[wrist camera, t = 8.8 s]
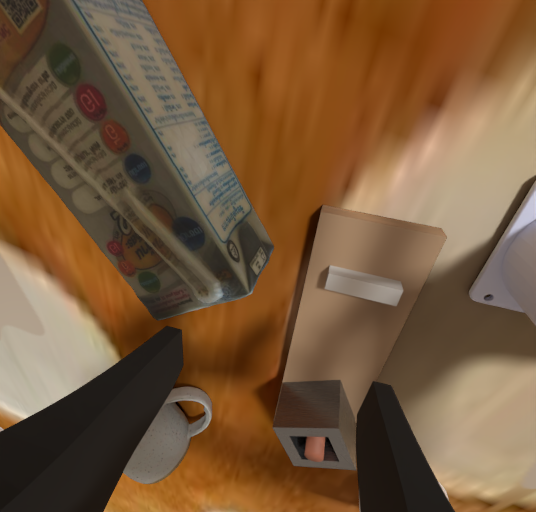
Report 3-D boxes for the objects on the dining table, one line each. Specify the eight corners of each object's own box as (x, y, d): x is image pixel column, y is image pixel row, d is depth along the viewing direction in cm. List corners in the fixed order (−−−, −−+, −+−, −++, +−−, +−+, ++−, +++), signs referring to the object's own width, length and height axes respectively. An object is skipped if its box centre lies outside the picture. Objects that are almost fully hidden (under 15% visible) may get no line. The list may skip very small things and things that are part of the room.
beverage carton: (194, 278, 24) (146, 334, 18) (22, 21, 17) (-133, -12, 12) (279, 247, 20) (252, 305, 15) (105, -83, 14) (-56, -199, 8)
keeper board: (441, 228, 17) (477, 282, 12) (345, 431, 28) (344, 501, 23) (322, 204, 18) (312, 246, 13) (276, 409, 29) (261, 472, 24)
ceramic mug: (160, 422, 37) (120, 494, 30) (121, 378, 34) (68, 446, 27) (230, 418, 33) (201, 499, 26) (193, 367, 30) (150, 444, 23)
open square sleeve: (340, 379, 23) (338, 428, 20) (355, 419, 25) (356, 470, 22) (282, 382, 25) (272, 427, 22) (301, 419, 27) (293, 465, 24)
